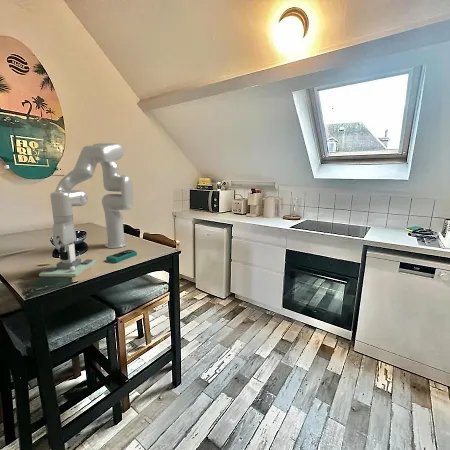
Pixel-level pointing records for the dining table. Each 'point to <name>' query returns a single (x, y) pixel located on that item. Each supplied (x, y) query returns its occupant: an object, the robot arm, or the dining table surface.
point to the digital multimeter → (121, 256)
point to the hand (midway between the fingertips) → (68, 257)
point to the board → (68, 268)
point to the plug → (70, 253)
